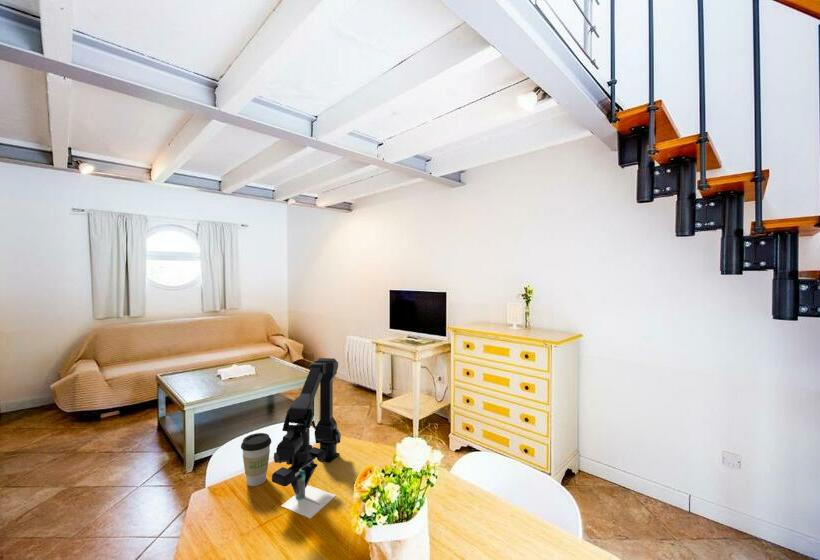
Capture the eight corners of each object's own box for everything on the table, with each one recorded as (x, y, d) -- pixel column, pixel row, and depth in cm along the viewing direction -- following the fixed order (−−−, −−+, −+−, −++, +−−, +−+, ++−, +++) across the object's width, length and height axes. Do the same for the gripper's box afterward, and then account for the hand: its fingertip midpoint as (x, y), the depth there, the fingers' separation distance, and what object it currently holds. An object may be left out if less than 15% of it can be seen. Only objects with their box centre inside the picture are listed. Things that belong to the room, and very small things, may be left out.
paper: (307, 485, 122) (307, 485, 122) (335, 495, 117) (335, 495, 117) (280, 506, 111) (280, 505, 111) (310, 518, 106) (310, 517, 106)
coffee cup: (264, 489, 120) (264, 445, 119) (235, 489, 120) (235, 445, 120) (276, 472, 130) (275, 432, 129) (249, 472, 130) (249, 431, 129)
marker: (300, 492, 118) (300, 469, 118) (307, 495, 116) (307, 471, 116) (293, 498, 115) (293, 473, 115) (300, 501, 114) (300, 476, 113)
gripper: (302, 427, 127) (302, 470, 128) (259, 450, 110) (259, 500, 111) (326, 433, 122) (326, 478, 123) (285, 459, 105) (285, 511, 106)
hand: (300, 490), depth 116 cm, fingers closed on marker, 3 cm apart
